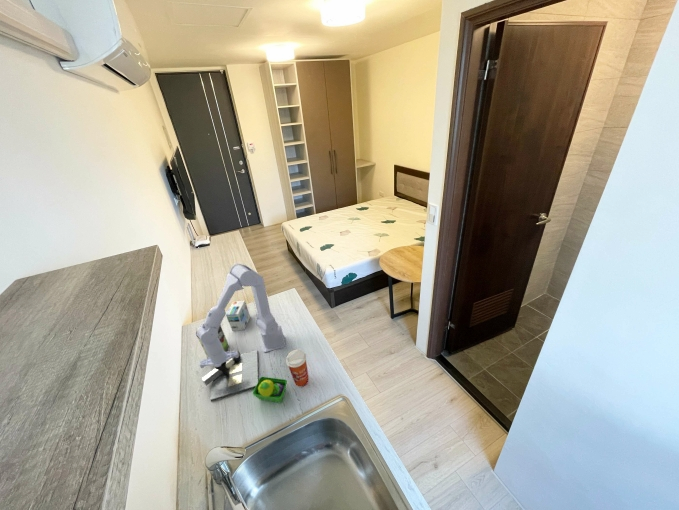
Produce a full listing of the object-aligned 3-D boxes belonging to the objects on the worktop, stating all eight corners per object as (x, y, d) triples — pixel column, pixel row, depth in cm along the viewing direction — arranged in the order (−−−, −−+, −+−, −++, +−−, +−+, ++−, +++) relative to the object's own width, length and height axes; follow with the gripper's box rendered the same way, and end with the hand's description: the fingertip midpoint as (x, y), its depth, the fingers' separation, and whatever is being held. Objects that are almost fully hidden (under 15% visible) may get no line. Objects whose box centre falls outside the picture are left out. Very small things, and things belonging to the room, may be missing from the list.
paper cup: (295, 392, 105) (289, 368, 98) (289, 377, 111) (282, 353, 104) (314, 383, 108) (309, 358, 101) (307, 369, 114) (301, 345, 107)
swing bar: (239, 359, 120) (237, 354, 118) (206, 386, 110) (203, 381, 108) (236, 357, 121) (235, 352, 119) (203, 383, 111) (201, 378, 109)
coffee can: (233, 343, 130) (225, 321, 124) (221, 361, 122) (211, 338, 115) (215, 342, 133) (205, 320, 126) (201, 359, 124) (190, 336, 117)
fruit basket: (290, 388, 107) (284, 368, 101) (281, 410, 99) (275, 390, 94) (263, 384, 109) (256, 365, 104) (253, 405, 102) (245, 386, 96)
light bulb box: (244, 330, 138) (238, 313, 133) (231, 331, 138) (225, 314, 133) (250, 315, 147) (245, 300, 142) (238, 316, 148) (232, 300, 142)
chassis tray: (257, 351, 125) (255, 344, 122) (258, 387, 109) (255, 379, 106) (216, 363, 121) (213, 355, 119) (211, 401, 105) (207, 393, 103)
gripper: (193, 363, 102) (206, 386, 109) (233, 352, 105) (243, 375, 112) (196, 349, 108) (208, 372, 115) (234, 339, 111) (243, 361, 118)
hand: (226, 372), depth 114 cm, fingers closed, pressing on swing bar
